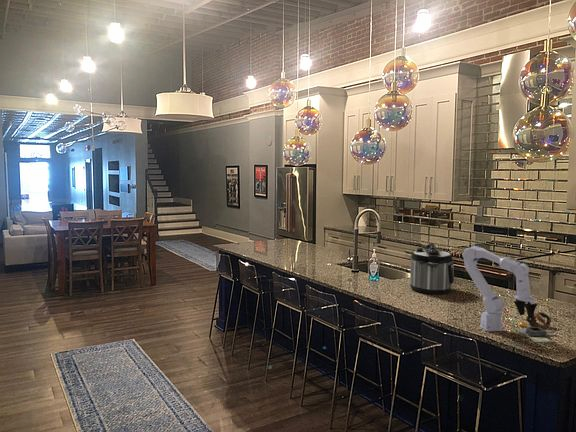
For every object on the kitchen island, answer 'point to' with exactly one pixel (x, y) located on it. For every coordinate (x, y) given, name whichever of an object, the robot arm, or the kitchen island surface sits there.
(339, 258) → the kitchen island surface
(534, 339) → the mat
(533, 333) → the grey square with handle
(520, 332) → the metal cylinder
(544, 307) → the kitchen island surface
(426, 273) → the pressure cooker
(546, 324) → the brown looped band
